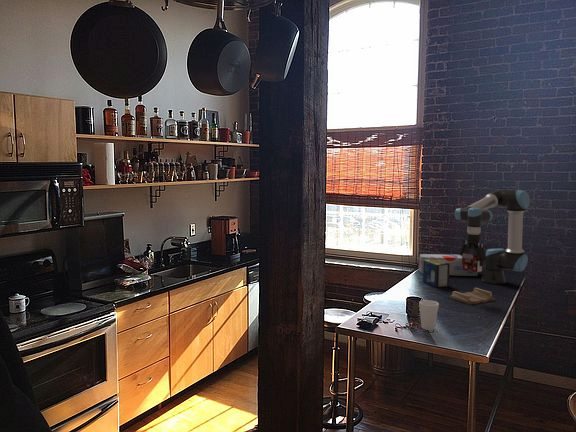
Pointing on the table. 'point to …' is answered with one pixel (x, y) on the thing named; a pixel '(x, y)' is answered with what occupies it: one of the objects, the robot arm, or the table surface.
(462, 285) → the table surface
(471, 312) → the table surface
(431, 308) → the foam cup
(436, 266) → the protein box
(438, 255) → the soda pack
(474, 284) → the table surface
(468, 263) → the toy fire truck
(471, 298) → the cradle
